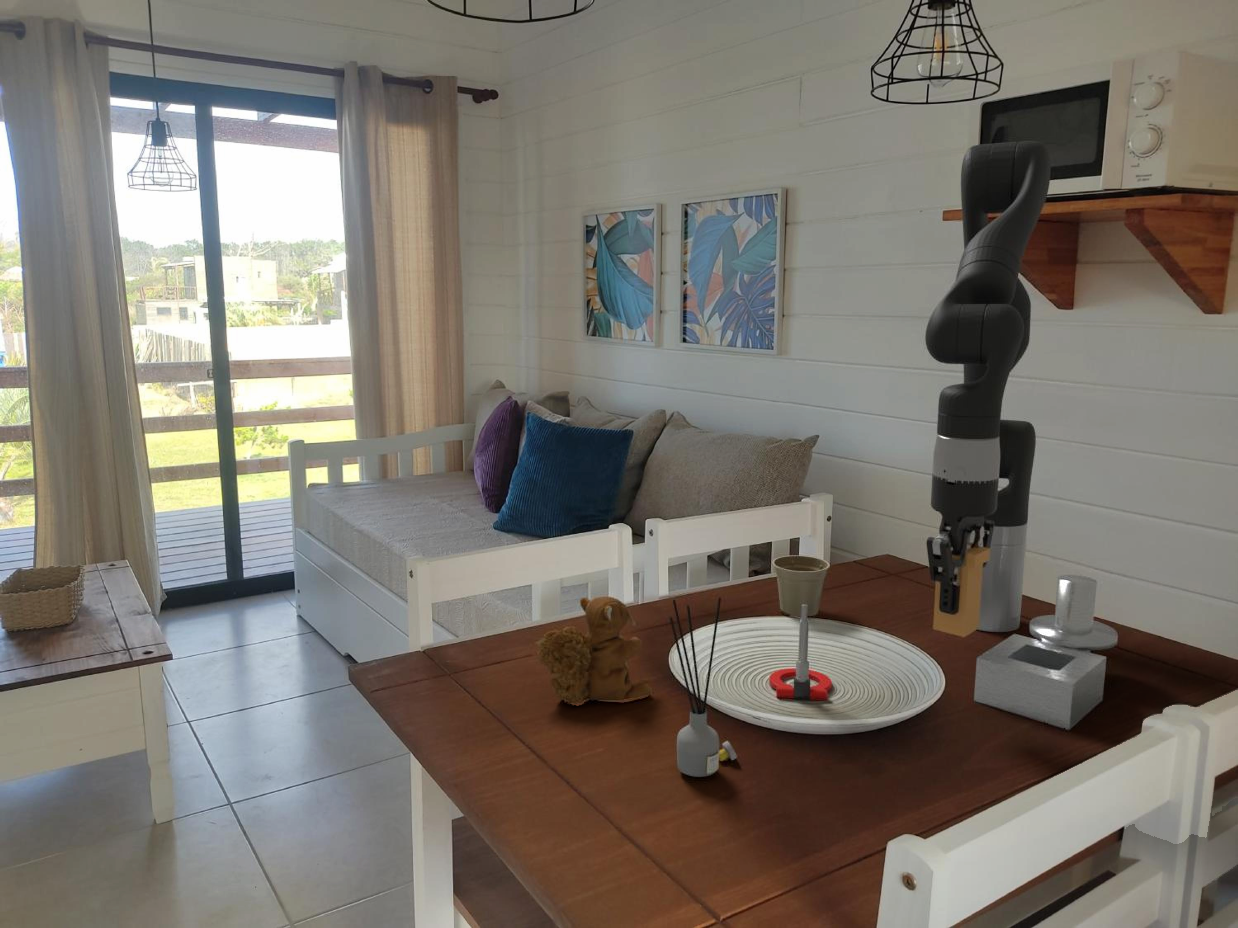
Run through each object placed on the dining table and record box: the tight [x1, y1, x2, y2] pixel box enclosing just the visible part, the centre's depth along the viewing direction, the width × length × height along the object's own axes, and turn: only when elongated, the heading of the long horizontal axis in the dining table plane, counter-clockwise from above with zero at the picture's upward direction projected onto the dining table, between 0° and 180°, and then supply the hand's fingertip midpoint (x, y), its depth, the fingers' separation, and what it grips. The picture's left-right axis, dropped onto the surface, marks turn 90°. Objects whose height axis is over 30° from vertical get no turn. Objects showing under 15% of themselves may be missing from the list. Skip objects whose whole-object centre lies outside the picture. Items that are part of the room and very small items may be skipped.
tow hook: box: [768, 604, 833, 701], centre depth 126 cm, size 8×13×9 cm
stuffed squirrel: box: [534, 596, 652, 705], centre depth 124 cm, size 10×14×13 cm
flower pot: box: [771, 554, 831, 618], centre depth 156 cm, size 9×9×9 cm
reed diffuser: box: [669, 597, 738, 778], centre depth 104 cm, size 10×7×20 cm
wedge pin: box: [932, 547, 990, 638], centre depth 115 cm, size 6×4×10 cm
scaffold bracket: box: [973, 574, 1119, 731], centre depth 125 cm, size 12×22×14 cm, turn 135°
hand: (956, 607), depth 115 cm, fingers closed on wedge pin, 4 cm apart
